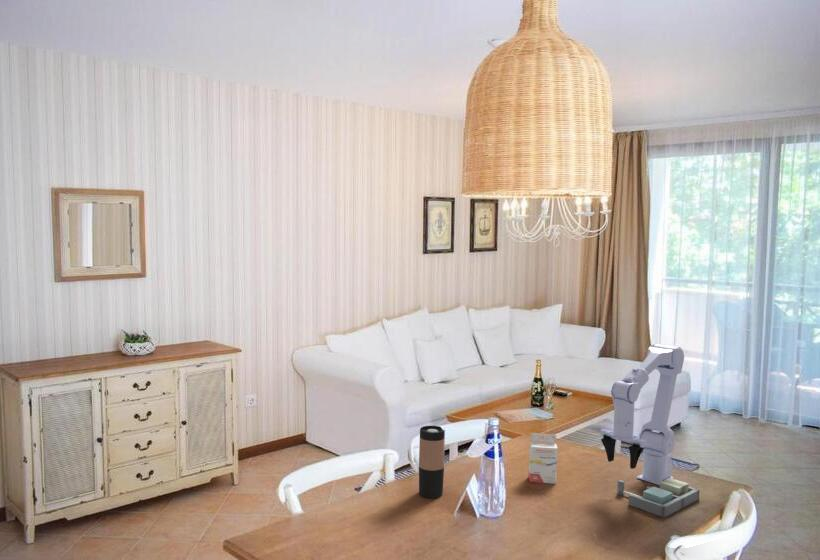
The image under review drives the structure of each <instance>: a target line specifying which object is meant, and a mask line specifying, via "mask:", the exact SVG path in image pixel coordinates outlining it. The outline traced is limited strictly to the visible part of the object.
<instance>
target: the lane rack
mask: <svg viewBox="0 0 820 560" xmlns="http://www.w3.org/2000/svg"><path fill="white" fill-rule="evenodd" d="M664 480H666V479H663V481H664ZM651 487H652V486H646V488H645V490H647V489H649V488H651ZM633 494H634V493H632V494H630V495H628V506H630V505H631V507H633V506H634V507H633V508H636V507H637V508H636V509H639V508H640V509H639V510H641V509H642V510H641V511H644V510H645V512H648V513H650V514H653V515H656V516H658V517H661V518H666V517H669V516H670V515H672V514H675V512H676V513H677V512H678V511H680V510H682V509H683V508H685V507H688V506H689V505H692V504H694V503H695V502H697V501H699V500H700V489H699V488H695V487H692V486H689V489H688V493H686V494H684V495H682V496H677V495H674V494H673V496H672V501H670V502H668V503H666V504H664V505H662V504H659V503H656V502H653V501H650V500H647V499H644V498H641V497H642V496H641V497H638V496H639V495H638V496H636V495H637V494H635V495H633Z"/></svg>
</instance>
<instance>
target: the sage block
mask: <svg viewBox="0 0 820 560" xmlns="http://www.w3.org/2000/svg"><path fill="white" fill-rule="evenodd" d="M689 487H690V483H688V482H685V481H681V480H678V479H676V478H675V479H674V478H673V479H672V478H668V479H666V480H664V481H662V482H660V485H659V488H660V489H663V490H666V491H669V492H672V493H673V494H674V495H677V496H682V495H684V494H686V493H688V489H689Z"/></svg>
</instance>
